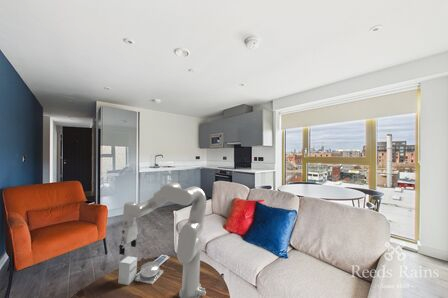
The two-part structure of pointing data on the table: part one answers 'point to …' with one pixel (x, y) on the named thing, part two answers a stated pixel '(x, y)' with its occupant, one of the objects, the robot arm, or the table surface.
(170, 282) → the table surface
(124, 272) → the supplement box
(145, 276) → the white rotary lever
